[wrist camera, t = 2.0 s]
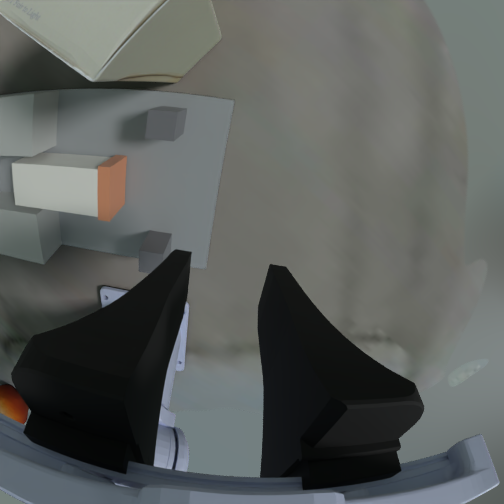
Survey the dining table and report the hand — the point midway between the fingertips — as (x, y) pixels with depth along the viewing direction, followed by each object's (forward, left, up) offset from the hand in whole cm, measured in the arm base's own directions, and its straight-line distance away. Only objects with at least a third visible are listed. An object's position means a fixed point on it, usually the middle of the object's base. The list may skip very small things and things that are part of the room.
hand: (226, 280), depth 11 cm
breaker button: (0, +11, -9) cm, 14 cm away
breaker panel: (0, +11, -10) cm, 15 cm away
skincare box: (+10, +6, -11) cm, 16 cm away
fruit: (-40, +33, -11) cm, 53 cm away
